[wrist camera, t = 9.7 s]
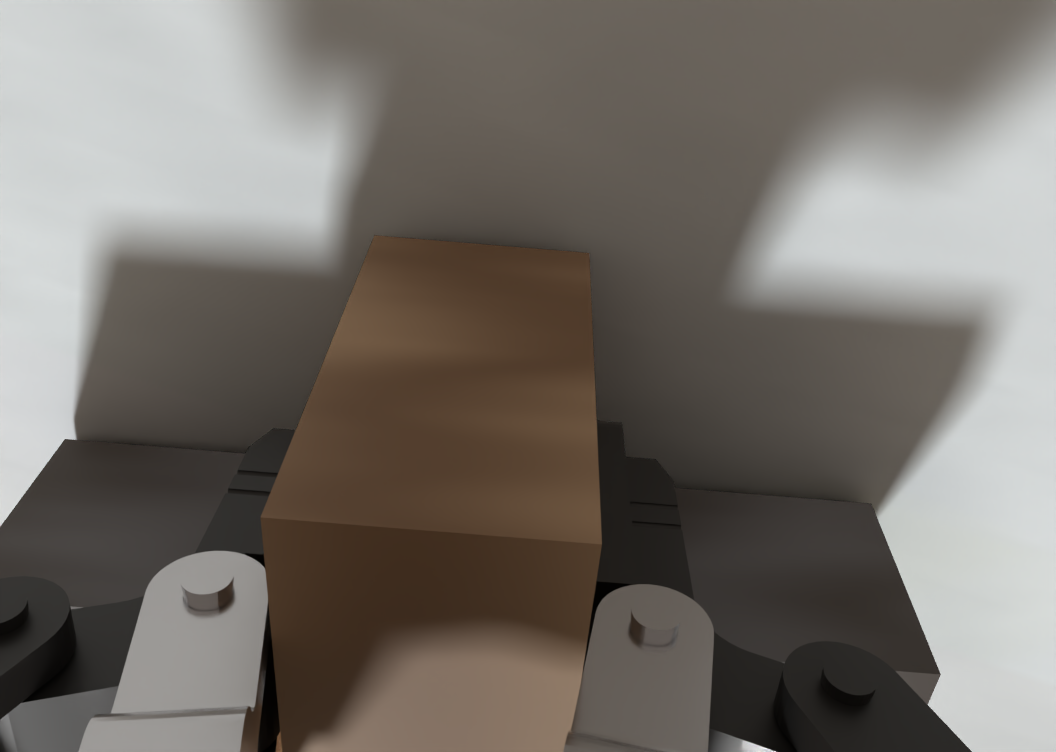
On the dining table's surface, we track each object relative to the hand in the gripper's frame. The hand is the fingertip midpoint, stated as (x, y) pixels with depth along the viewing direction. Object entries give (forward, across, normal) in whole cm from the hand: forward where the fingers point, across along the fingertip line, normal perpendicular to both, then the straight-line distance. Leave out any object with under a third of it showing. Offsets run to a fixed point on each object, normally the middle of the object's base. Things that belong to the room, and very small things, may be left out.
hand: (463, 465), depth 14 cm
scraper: (+1, 0, -1) cm, 2 cm away
